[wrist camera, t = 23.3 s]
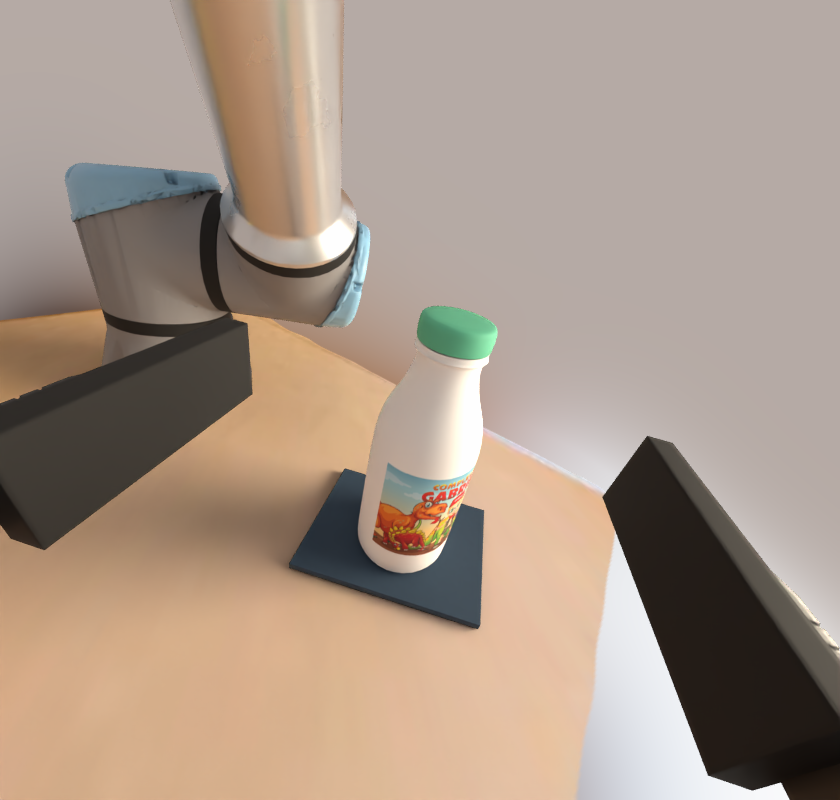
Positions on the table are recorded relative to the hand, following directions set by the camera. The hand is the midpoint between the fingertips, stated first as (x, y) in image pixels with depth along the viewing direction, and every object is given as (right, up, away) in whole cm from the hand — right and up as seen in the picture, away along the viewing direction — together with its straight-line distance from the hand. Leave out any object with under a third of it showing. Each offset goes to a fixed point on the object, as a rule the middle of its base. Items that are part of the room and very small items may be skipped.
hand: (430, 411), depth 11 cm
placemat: (-2, -12, +19) cm, 22 cm away
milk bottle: (-2, -12, +18) cm, 22 cm away
